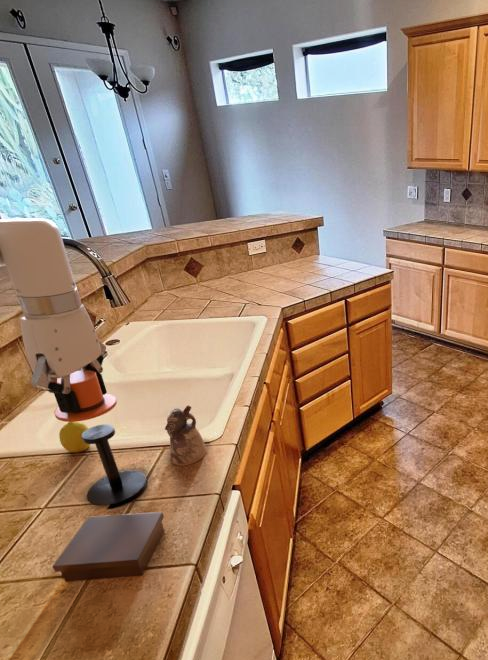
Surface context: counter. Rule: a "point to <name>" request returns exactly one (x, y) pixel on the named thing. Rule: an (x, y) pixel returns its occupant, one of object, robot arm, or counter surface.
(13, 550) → the counter surface
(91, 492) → the hat stand
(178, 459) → the figurine
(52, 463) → the counter surface
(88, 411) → the hat
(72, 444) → the lemon
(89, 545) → the walnut stand
